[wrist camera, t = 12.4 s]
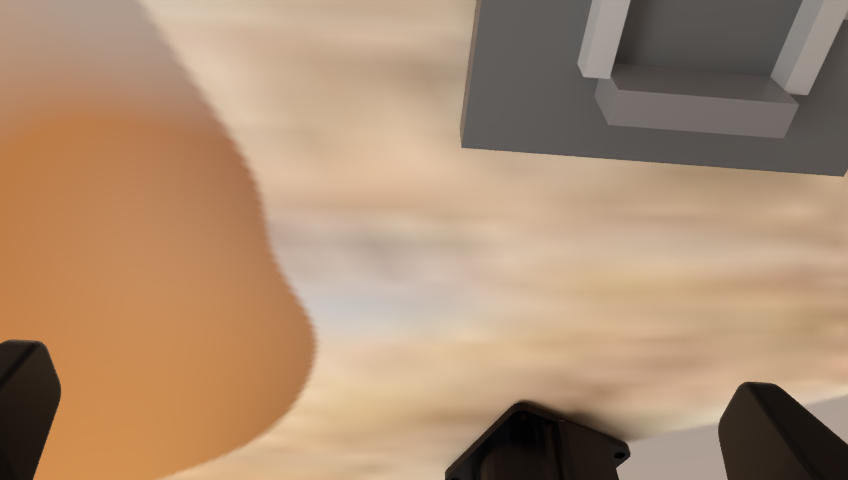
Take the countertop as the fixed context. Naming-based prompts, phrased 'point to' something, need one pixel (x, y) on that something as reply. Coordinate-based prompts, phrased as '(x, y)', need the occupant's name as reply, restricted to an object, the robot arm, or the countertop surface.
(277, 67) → the countertop surface
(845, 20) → the grey slider track
